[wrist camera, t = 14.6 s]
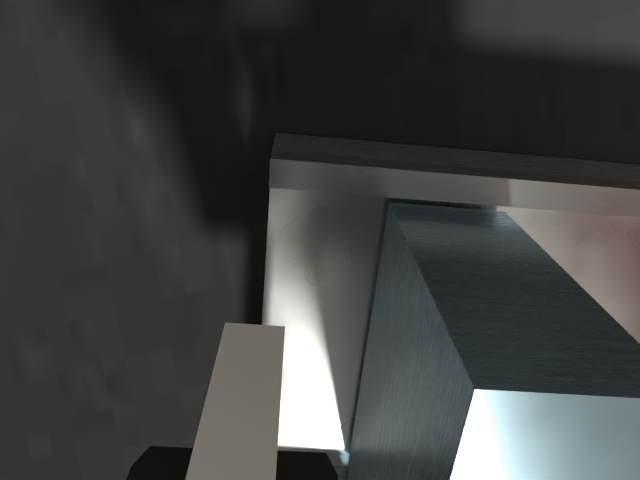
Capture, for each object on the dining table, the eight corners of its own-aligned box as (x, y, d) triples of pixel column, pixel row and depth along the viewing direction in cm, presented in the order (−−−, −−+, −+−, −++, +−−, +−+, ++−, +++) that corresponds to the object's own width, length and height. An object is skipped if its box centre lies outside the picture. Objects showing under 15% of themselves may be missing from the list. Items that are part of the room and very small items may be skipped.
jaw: (347, 466, 17) (376, 753, 10) (389, 202, 13) (474, 389, 7) (439, 470, 17) (524, 755, 10) (505, 211, 13) (698, 402, 7)
